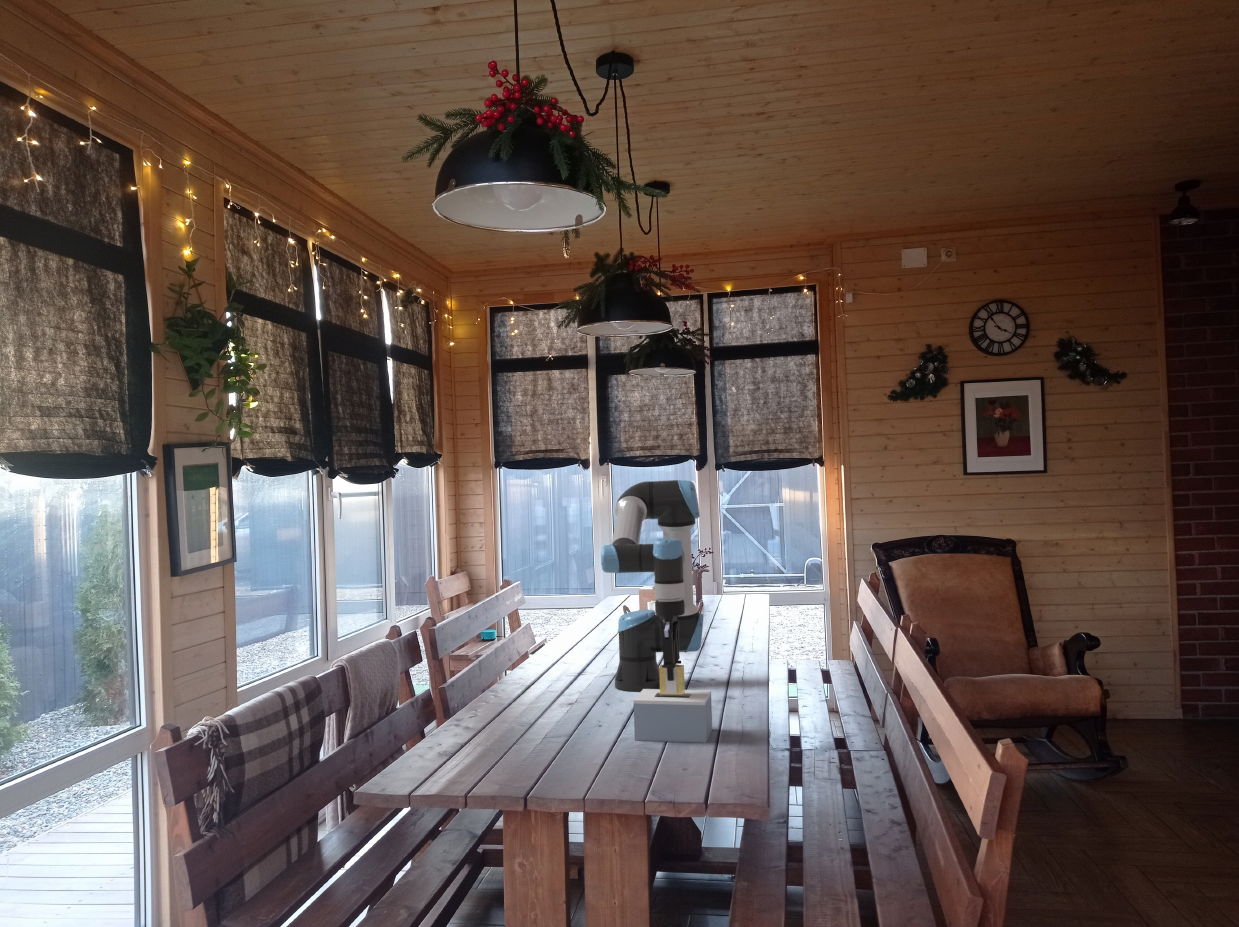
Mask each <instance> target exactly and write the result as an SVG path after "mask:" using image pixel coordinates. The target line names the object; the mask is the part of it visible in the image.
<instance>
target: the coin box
mask: <svg viewBox="0 0 1239 927" xmlns="http://www.w3.org/2000/svg"><path fill="white" fill-rule="evenodd" d="M632 702H633V724H634V728H633V729H634V730H633V732H634V741H646V742H648V741H649V742H673V743H674V742H675V743H676V742H677V743H678V742H679V743H700V744H701V743H704V744H707V742H708V739H709V738H710V735H711V733H712V730H713V708H712V690H709V689H708V690H706V689H704V690H703V689H698V690H697V689H685V693H684V695H674V694H660V688H657V689H643V690H642V691H639V693H638V695H636V697H635V698H634V699H633V701H632Z"/></svg>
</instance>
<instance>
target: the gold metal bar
mask: <svg viewBox="0 0 1239 927" xmlns="http://www.w3.org/2000/svg"><path fill="white" fill-rule="evenodd" d="M662 665H663V664H660V665H658V667H659V676H660V688H659V689H660V694H674V695H684V693H685V690H686V689H685V688H686V686H685V685H686V684H685V665H684V664H678V665H676V666H675V667H676V672H677V693H666V673H665V668H662Z"/></svg>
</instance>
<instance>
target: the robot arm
mask: <svg viewBox="0 0 1239 927" xmlns="http://www.w3.org/2000/svg"><path fill="white" fill-rule="evenodd" d="M614 510H615V512H614V513H615V516H616V519H615V520H616V521H615V525H614V530H613V535H612V539H611V544H604V545H602V547H601V549H600V550H601V551H600V563H601V569H602V571H603V572H604V573H606V574H607V573H611V574H622V573H623V574H625V573H626V574H627V573H630V574H631V573H654V585H653V586H652V590H653V591H654V598H655V599H656V600H655V601H654V608H655V610H654V609H639V610H635V611H630V612H626V613H624V614H621V615H620V616H619V618H618V627H617V628H618V629H617V632H618V653H619V654H618V655H619V656H618V657H619V659H618V660H619V662H618V666H617V670H616V674H615V677H614V687H615V689H618V690H621V691H627V692H641V691H642V690H643V689H660V676H659V665H658V660H657V653H662V656H663V657H662V658H663V659H662V660H663V664H661V665H662V668H665V673H666V693H677V672H676V667H675V666H676V665H682V660H680V658H681V657H680V653H691V652H698V651H699V650H700V648H701V646H702V638H703V627H704V614H703V613H701V612H699V610H700V609H699V607H698V606H697V605H696V604H694V583H693V582H694V581H693V559H692V558H693V557H692V555H693V552H692V534H691V533H692V532H691V530H692V528H693V527H694V526H695V525H696V519H699V518H700V517H701V514H700V507H699V500H698V494H697V489H696V485H695V483H694V482H693V480H685V479H684V480H683V479H675V480H656V481H655V480H654V481H650V480H649V481H648V480H647V481H641V482H638V483H636V484H633V485H632V486H630V487H629V488H627V489H626V490H625V491H624V492H623V493H621V495H620V496H619V498H618V499H617V501H616V503H615V509H614ZM645 520H657V526H658V527H659V528H660V529H661V530H662V538H657V539H655V540H654V541H653V543H640V541H641V535H642V534H641V533H642V527H643V522H644V521H645Z"/></svg>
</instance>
